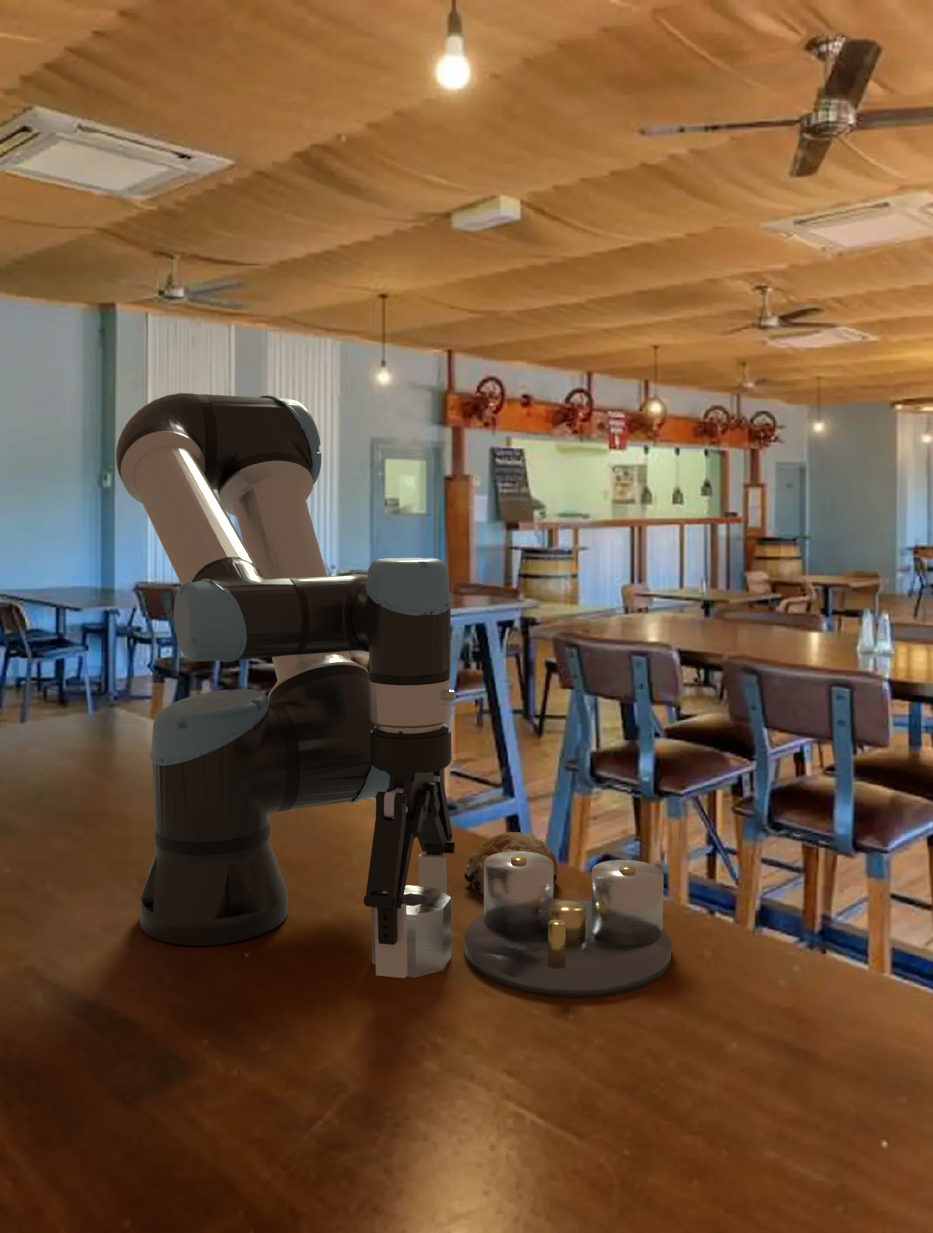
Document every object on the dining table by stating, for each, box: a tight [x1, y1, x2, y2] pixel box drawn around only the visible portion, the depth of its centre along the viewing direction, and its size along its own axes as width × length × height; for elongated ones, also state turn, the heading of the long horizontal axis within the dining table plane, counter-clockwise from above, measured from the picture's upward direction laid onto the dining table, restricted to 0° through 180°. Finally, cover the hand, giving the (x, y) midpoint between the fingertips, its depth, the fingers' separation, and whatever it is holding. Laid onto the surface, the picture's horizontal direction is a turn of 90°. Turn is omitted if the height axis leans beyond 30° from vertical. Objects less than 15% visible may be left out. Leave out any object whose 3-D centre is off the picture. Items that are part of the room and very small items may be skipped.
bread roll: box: [464, 831, 559, 896], centre depth 122 cm, size 10×10×8 cm
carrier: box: [464, 851, 672, 998], centre depth 105 cm, size 20×20×8 cm
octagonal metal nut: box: [370, 884, 452, 979], centre depth 103 cm, size 7×7×6 cm
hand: (413, 945), depth 102 cm, fingers open, 13 cm apart
